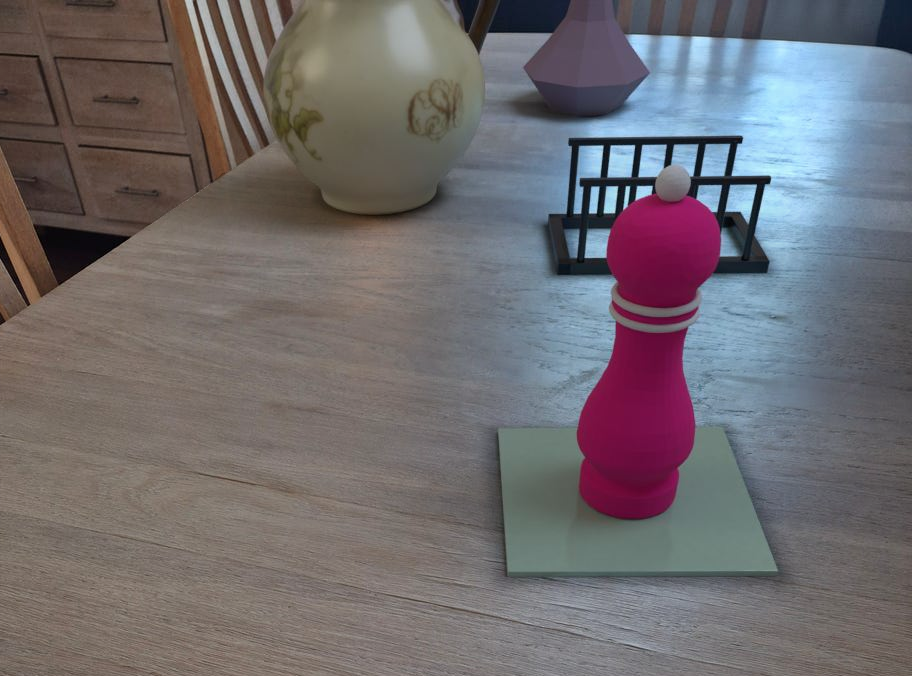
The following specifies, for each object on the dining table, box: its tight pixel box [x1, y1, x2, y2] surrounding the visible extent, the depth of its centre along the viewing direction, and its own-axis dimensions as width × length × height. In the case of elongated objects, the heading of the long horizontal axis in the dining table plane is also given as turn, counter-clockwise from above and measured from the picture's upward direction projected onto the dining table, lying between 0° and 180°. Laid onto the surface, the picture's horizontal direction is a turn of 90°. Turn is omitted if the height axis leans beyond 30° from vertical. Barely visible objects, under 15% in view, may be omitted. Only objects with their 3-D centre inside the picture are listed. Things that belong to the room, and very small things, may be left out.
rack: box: [547, 135, 772, 276], centre depth 89 cm, size 19×12×8 cm, turn 89°
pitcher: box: [262, 0, 501, 216], centre depth 95 cm, size 22×24×25 cm
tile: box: [497, 426, 779, 578], centre depth 62 cm, size 16×16×1 cm
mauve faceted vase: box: [522, 0, 651, 118], centre depth 119 cm, size 16×16×20 cm
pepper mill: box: [576, 164, 722, 519], centre depth 55 cm, size 7×7×20 cm
